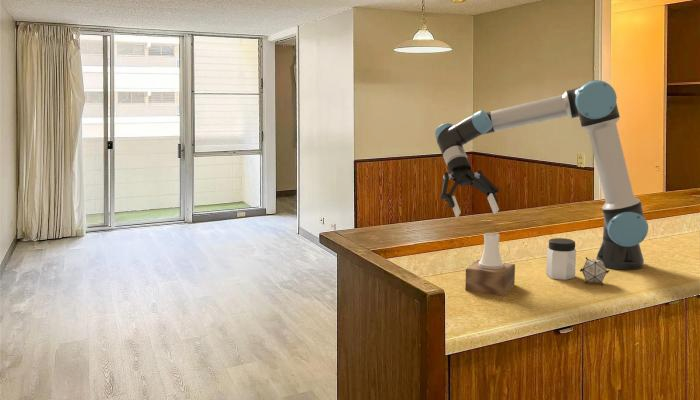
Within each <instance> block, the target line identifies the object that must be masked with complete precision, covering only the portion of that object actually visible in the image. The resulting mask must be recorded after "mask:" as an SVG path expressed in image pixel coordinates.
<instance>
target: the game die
mask: <svg viewBox="0 0 700 400" xmlns="http://www.w3.org/2000/svg"><path fill="white" fill-rule="evenodd" d="M585 259H586V261H585V263H584V265H583V267H582V268H580V269H579V272H582V274H583V277H584V279H585V282H584V284H587V283H600V284H601V285H602V286H604V283H603V281H604V279H605V277H606V275H607V274H608V273H609V272H610V270H607V267H605V265H604V263H603V260H604V258H603V259H602V260H596V259H589V258H588V257H587V256H585Z"/></svg>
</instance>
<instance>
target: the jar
mask: <svg viewBox="0 0 700 400" xmlns="http://www.w3.org/2000/svg"><path fill="white" fill-rule="evenodd" d="M576 259H577V250H576V241H575V240H573V239H570V238H562V237H561V238H560V237H556V238H555V237H554V238H550V239H548V247H547V249H546V272H545V274H546V275H547V276H548V277H549V278H550V279H552V280H553V279H554V280H561V281H567V280H572V279H574V278H576V261H577V260H576Z"/></svg>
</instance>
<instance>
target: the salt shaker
mask: <svg viewBox="0 0 700 400" xmlns="http://www.w3.org/2000/svg"><path fill="white" fill-rule="evenodd" d="M483 240H484V241H483V242H484V243H483V252H482V255H481V258H480V259H479V260H480V261H479V266H480V267H482V268H487V269H499V268H502V267H503V264H504V263H505V262H504V261H502V257H501V253H500V248H499V245H500V234H499V233H498V232H497V233H496V232H485V233H483Z"/></svg>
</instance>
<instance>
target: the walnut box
mask: <svg viewBox="0 0 700 400" xmlns="http://www.w3.org/2000/svg"><path fill="white" fill-rule="evenodd" d="M480 260H481V259H477V260H476V261H475V262H472V264H470V265H469V266H468V267H466V268H465V288H464V289H465V290H464V291H468V292H473V293H474V292H476V293H481V294H489V295H496V296H502V297H505V296H506V294H507V293H508V292H509V291H510V290H511V289H512V288H513V287H514V286H515V283H516V282H515V278H516V277H515V276H516V274H515V273H516V264H514V263H509V262H508V263H507V262H503V263H504V264H503V267H502V268H499V269H487V268H482V267H480V266H479V261H480Z"/></svg>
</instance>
